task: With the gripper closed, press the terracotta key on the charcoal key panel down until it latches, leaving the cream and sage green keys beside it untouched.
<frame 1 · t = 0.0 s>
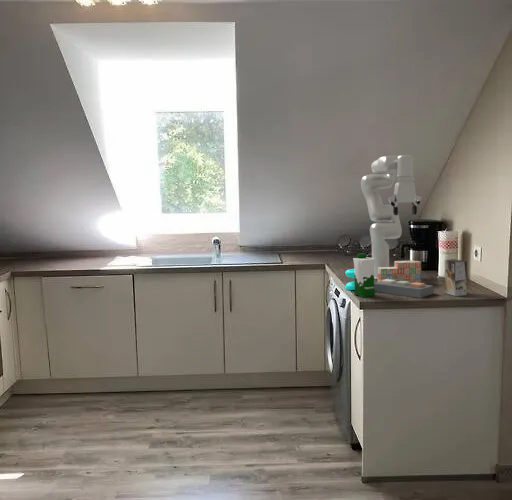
hand: (405, 214, 266), 37 cm above the worktop, tool pointing down, fingers open, 9 cm apart
key panel: (402, 292, 259), on the worktop
terracotta key: (417, 286, 253), point 4 cm above the worktop, slide at 0.0 cm
coffee box: (455, 294, 252), on the worktop
sage key: (402, 284, 259), point 4 cm above the worktop, slide at 0.0 cm
milk carton: (364, 296, 255), on the worktop
donuts: (355, 289, 271), on the worktop
stack of blocks: (399, 285, 281), on the worktop
cream key: (388, 283, 265), point 4 cm above the worktop, slide at 0.0 cm
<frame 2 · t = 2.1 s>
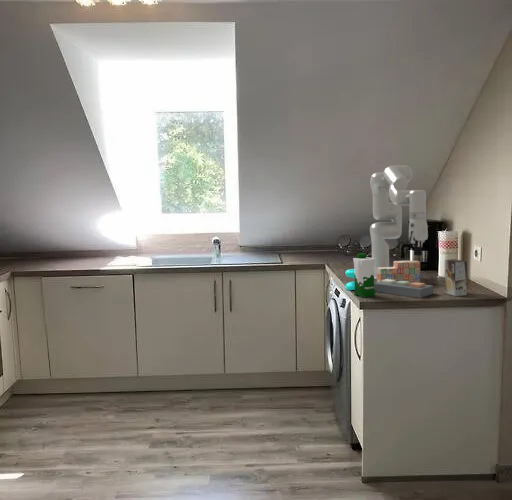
hand: (417, 255, 252), 19 cm above the worktop, tool pointing down, fingers closed
nothing on the worktop moved.
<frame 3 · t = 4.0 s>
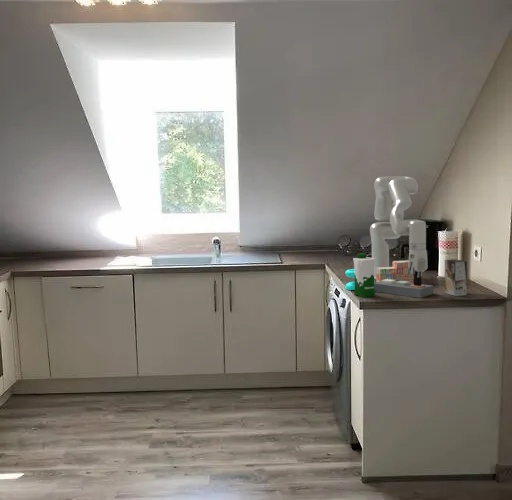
hand: (417, 285, 253), 5 cm above the worktop, tool pointing down, fingers closed
terracotta key: (417, 288, 253), point 3 cm above the worktop, slide at 0.8 cm, touching gripper
everything else where it was.
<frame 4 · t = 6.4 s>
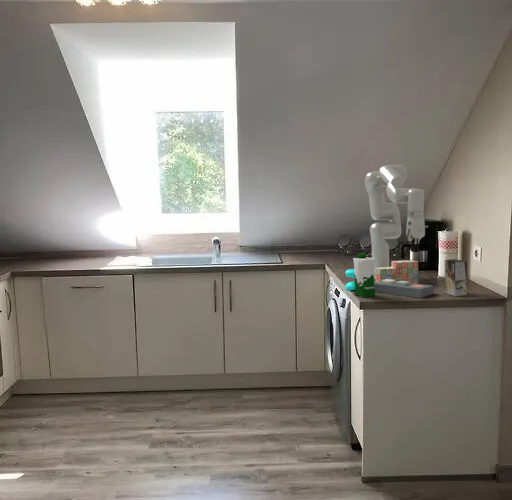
hand: (414, 251, 262), 19 cm above the worktop, tool pointing down, fingers closed
terracotta key: (417, 289, 253), point 3 cm above the worktop, slide at 1.2 cm
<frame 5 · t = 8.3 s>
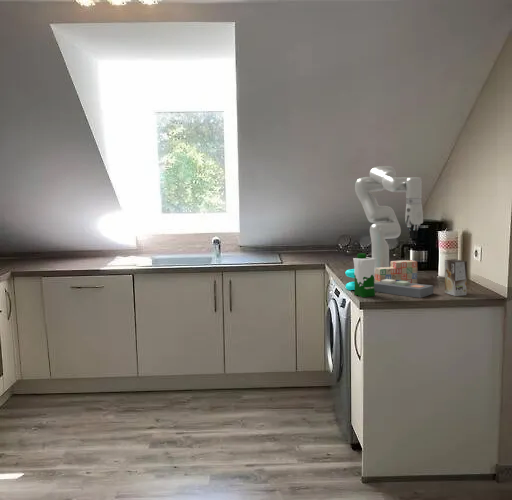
hand: (413, 237, 271), 25 cm above the worktop, tool pointing down, fingers closed
at the end: terracotta key slide at 1.2 cm; cream key slide at 0.0 cm; sage key slide at 0.0 cm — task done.
